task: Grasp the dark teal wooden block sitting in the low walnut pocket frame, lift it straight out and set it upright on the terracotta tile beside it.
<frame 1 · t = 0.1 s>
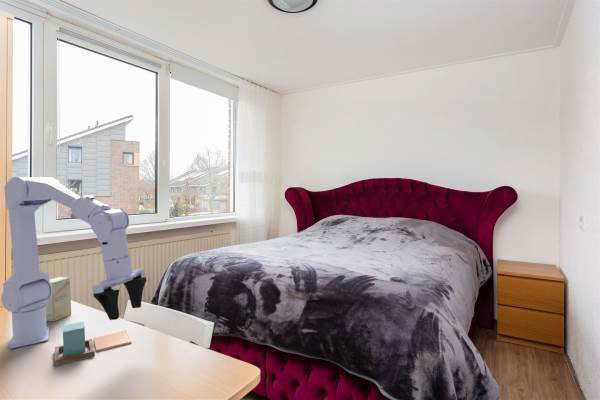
hand: (126, 313, 84), 11 cm above the table, tool pointing down, fingers open, 7 cm apart
teal block: (74, 354, 85), resting in pocket frame
pocket frame: (74, 353, 85), on the table
terracotta tile: (112, 341, 92), on the table
skincare box: (57, 318, 108), on the table
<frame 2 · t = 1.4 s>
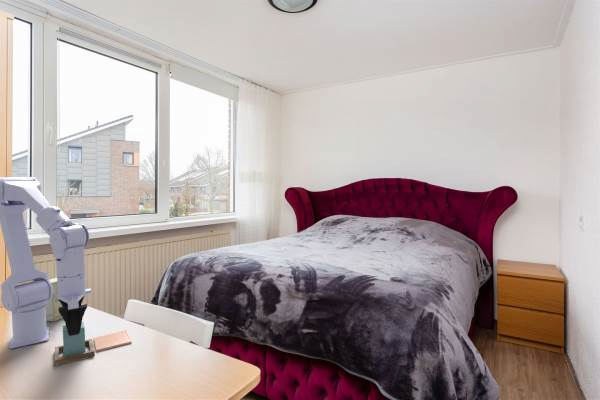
hand: (73, 328, 85), 6 cm above the table, tool pointing down, fingers open, 7 cm apart
nothing on the table moved.
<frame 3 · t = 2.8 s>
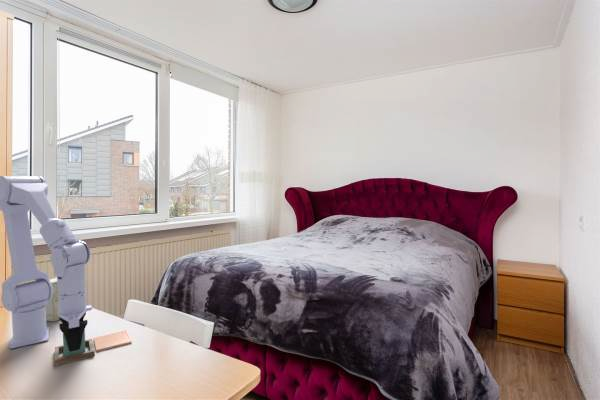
hand: (74, 346, 85), 2 cm above the table, tool pointing down, fingers closed on teal block, 4 cm apart
teal block: (74, 353, 85), resting in pocket frame, touching gripper
everything else where it was.
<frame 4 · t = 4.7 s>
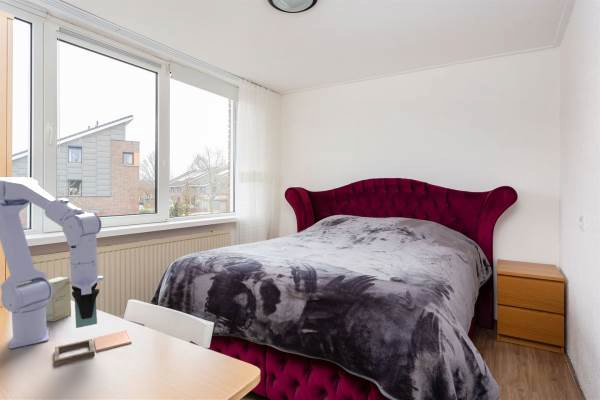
hand: (86, 314, 87), 9 cm above the table, tool pointing down, fingers closed on teal block, 4 cm apart
teal block: (86, 322, 87), point 7 cm above the table, touching gripper
everything else where it was.
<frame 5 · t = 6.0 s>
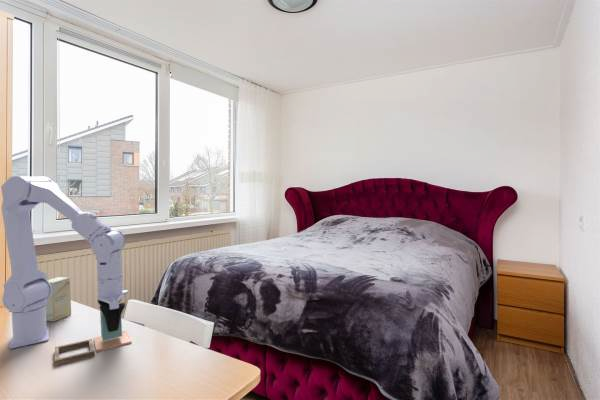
hand: (111, 327, 92), 4 cm above the table, tool pointing down, fingers closed on teal block, 4 cm apart
teal block: (111, 335, 92), point 2 cm above the table, touching gripper
everything else where it was.
when the fingers open (4 cm above the table, at t = 6.9 s): teal block stays where it is, resting on terracotta tile.
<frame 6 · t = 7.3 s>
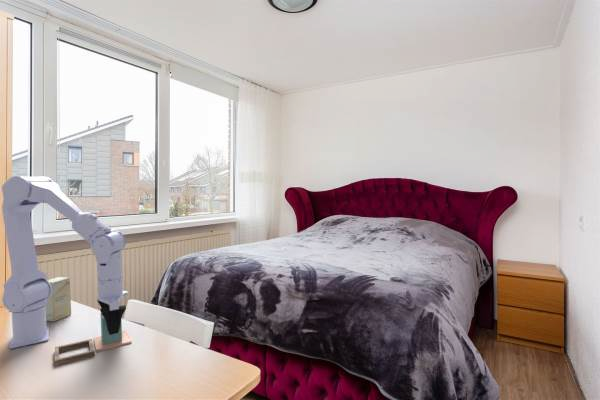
hand: (111, 328, 92), 4 cm above the table, tool pointing down, fingers open, 7 cm apart
teal block: (111, 339, 92), resting on terracotta tile
everything else where it was.
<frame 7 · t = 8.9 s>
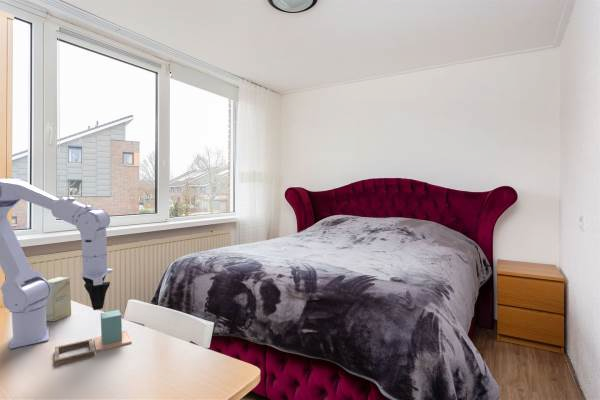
hand: (96, 304, 93), 9 cm above the table, tool pointing down, fingers open, 7 cm apart
nothing on the table moved.
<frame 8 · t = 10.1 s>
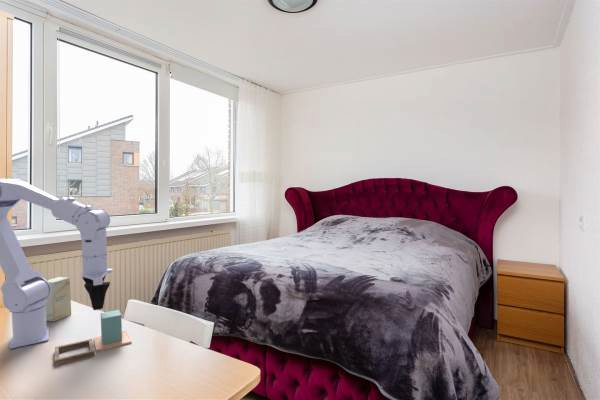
hand: (96, 304, 93), 9 cm above the table, tool pointing down, fingers open, 7 cm apart
nothing on the table moved.
at the end: teal block 0.1 cm off-centre on the terracotta tile, point 0.5 cm above the terracotta tile's base; teal block tilted 0°; the gripper is holding nothing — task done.
